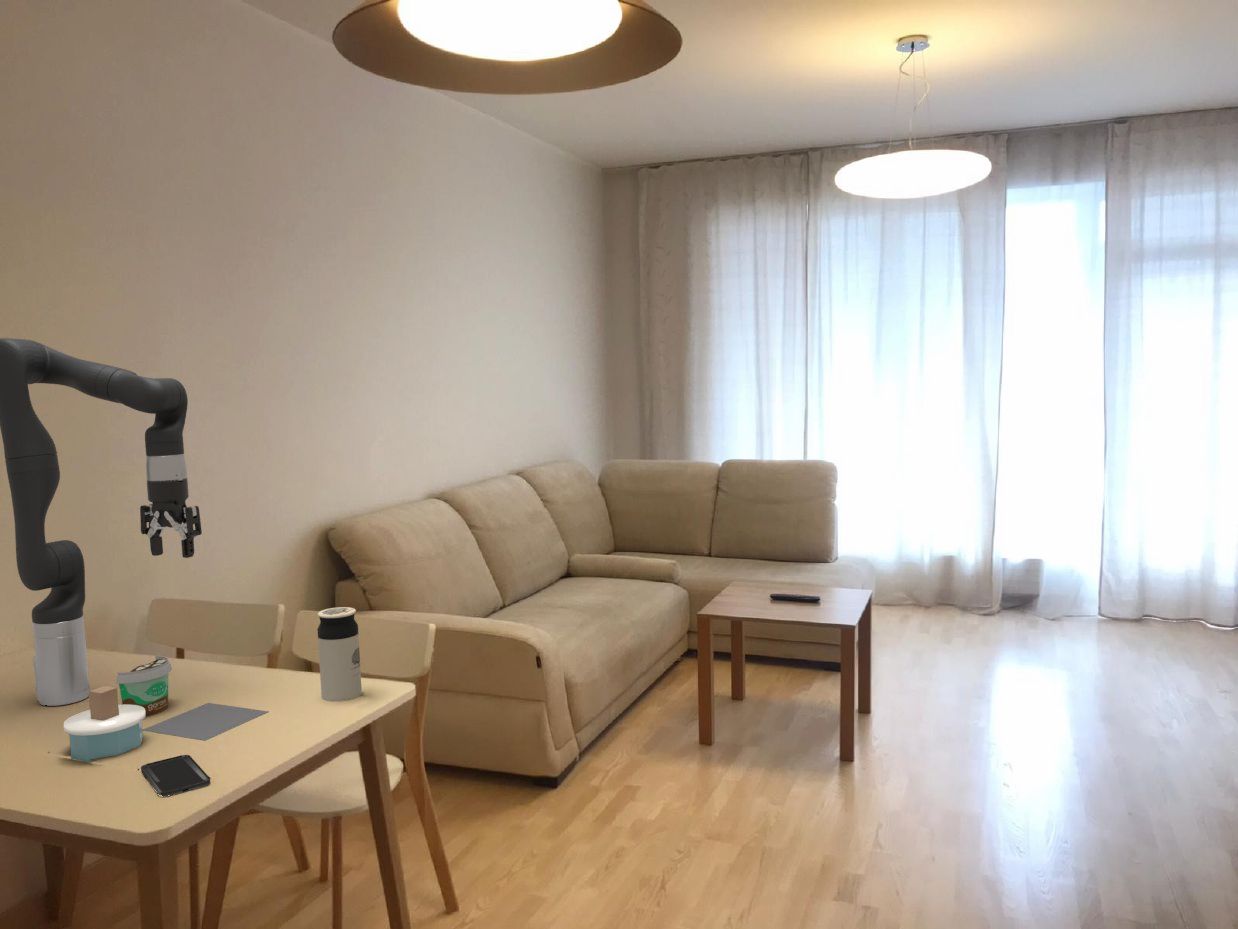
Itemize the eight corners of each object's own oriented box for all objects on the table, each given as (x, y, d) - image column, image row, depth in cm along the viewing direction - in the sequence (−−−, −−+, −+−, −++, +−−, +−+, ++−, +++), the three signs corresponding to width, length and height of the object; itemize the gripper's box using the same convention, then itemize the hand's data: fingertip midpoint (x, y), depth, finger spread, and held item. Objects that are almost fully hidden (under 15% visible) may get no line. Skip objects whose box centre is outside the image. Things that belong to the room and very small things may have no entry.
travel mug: (313, 702, 198) (308, 614, 197) (337, 689, 206) (332, 605, 204) (346, 705, 195) (340, 617, 194) (369, 693, 203) (365, 607, 201)
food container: (147, 725, 188) (143, 674, 187) (119, 723, 189) (115, 673, 188) (188, 703, 200) (184, 655, 199) (161, 702, 201) (157, 654, 200)
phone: (188, 753, 171) (211, 780, 159) (188, 760, 171) (212, 786, 159) (138, 765, 166) (159, 794, 154) (139, 772, 166) (160, 801, 154)
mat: (141, 733, 183) (141, 730, 183) (208, 705, 198) (208, 702, 198) (205, 743, 177) (205, 740, 177) (269, 714, 192) (269, 711, 191)
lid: (47, 730, 172) (44, 697, 172) (112, 706, 184) (109, 675, 183) (98, 739, 167) (95, 705, 166) (161, 714, 179) (159, 682, 178)
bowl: (58, 756, 173) (56, 729, 172) (113, 734, 183) (111, 708, 182) (102, 765, 168) (100, 736, 168) (155, 742, 179) (153, 715, 178)
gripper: (125, 478, 197) (132, 558, 199) (177, 479, 192) (183, 561, 193) (156, 474, 204) (162, 551, 206) (207, 475, 198) (213, 554, 200)
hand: (172, 556), depth 199 cm, fingers open, 8 cm apart
